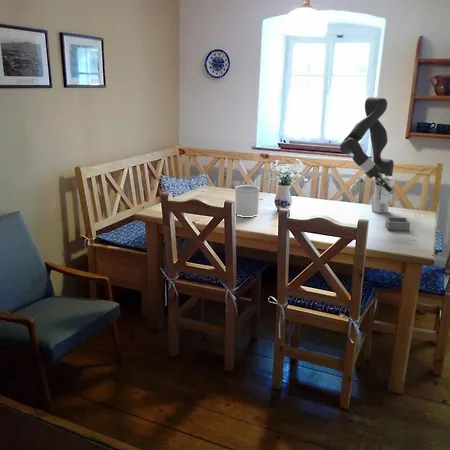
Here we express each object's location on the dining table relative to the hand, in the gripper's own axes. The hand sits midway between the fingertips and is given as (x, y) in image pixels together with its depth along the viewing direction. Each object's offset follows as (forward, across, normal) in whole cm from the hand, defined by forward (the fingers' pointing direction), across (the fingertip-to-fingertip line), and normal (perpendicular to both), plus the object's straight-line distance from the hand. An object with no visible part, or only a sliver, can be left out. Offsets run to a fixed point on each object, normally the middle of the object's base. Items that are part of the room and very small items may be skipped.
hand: (389, 189), depth 257 cm
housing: (+20, 0, +11) cm, 23 cm away
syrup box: (+4, 0, +7) cm, 8 cm away
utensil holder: (-41, +12, +73) cm, 85 cm away
